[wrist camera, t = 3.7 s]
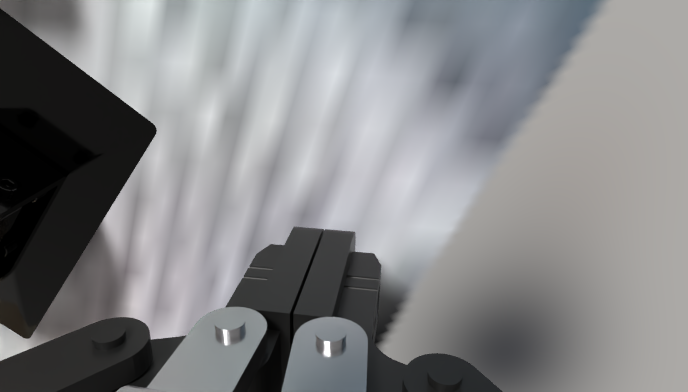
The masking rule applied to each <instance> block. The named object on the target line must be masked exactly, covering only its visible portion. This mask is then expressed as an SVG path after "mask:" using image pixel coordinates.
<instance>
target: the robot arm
mask: <svg viewBox="0 0 688 392" xmlns="http://www.w3.org/2000/svg"><path fill="white" fill-rule="evenodd" d="M380 275H381V264H380V263H379V261H378V259H377V258H376V256H375V254H373V253H362V252H355V232H350V231H339V230H327V229H325V231H324V229H315V228H303V227H294V228H293V229H292V231H291V233H290V235H289V237H288V239H287V241H286V243H285V245H274V244H271V245H269V246H268V247H266V248H265V249H263V250H262V251H260V252H259V253H257V254H256V256H255V258H254V259H253V261H252V263H251V264H250V268H248V270H247V271H246V273H245V275H244V278H242V280H241V282H240V283H239V285H238V287H237V288H236V290H235V292H234V294H233V295H232V297H231V299H230V300H229V302H228V304H227V306H226V307H225V308H221V309H217V310H214V311H212V312H210V313H208V314H206V315H204V316H203V317H202V318H201V319H200V320H199V321H198V322H197V323H196V324H195V325H194V327H193V328H192V329H191V331H190V332H189V333H188V335H186V336H180V337H172V338H163V339H154V340H151V338H150V332H149V329H148V327H147V325H146V324H145V323H143V322H142V321H140V320H137V319H134V318H127V317H119V318H110V319H106V320H102V321H99V322H96V323H93V324H91V325H88V326H86V327H83V328H81V329H79V330H76V331H74V332H71V333H69V334H66V335H64V336H61V337H59V338H56V339H54V340H51V341H49V342H46V343H44V344H41V345H39V346H37V347H34V348H32V349H29V350H27V351H24V352H22V353H19V354H17V355H14V356H12V357H9V358H7V359H4V360H2V361H0V392H502V391H501V390H500V389H499V388H498V387H497V386H495V385H494V384H493V383H492V382H491V381H490V380H489V379H487V378H486V377H485V376H484V375H483V374H482V373H481V372H479V371H478V370H477V369H476V368H475V367H474V366H472V365H471V364H470V363H468V362H466V361H464V360H463V359H460V358H458V357H455V356H451V355H447V354H438V353H437V354H427V355H422V356H419V357H417V358H415V359H414V360H412V361H411V362H410V363H409V364H408V365H405V364H403V363H400V362H397V361H395V360H392V359H391V358H389V357H387V356H386V355H385V354H383V353H382V352H381V351H380V350H379V349H378V348H377V347H376V345H375V344H374V343H375V335H376V328H377V320H378V307H379V291H380Z"/></svg>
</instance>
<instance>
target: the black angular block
mask: <svg viewBox="0 0 688 392" xmlns="http://www.w3.org/2000/svg"><path fill="white" fill-rule="evenodd" d="M156 131H157V130H156V127H155V125H154V124H153V123H151V122H150V121H149V120H147V119H146V118H145V117H143V116H142V115H141V114H139V113H138V112H137V111H135V110H134V109H133V108H131V107H130V106H129V105H127V104H126V103H125V102H124V101H122V100H121V99H120V98H118V97H117V96H116V95H114V94H113V93H112V92H110V91H109V90H108V89H106V88H105V87H104V86H102V85H101V84H100V83H98V82H97V81H96V80H94V79H93V78H92V77H90V76H89V75H88V74H86V73H85V72H84V71H82V70H81V69H80V68H78V67H77V66H76V65H75V64H73V63H72V62H71V61H69V60H68V59H67V58H65V57H64V56H63V55H61V54H60V53H59V52H57V51H56V50H55V49H53V48H52V47H51V46H49V45H48V44H47V43H45V42H44V41H43V40H41V39H40V38H39V37H37V36H36V35H35V34H33V33H32V32H31V31H29V30H28V29H27V28H26V27H24V26H23V25H22V24H20V23H19V22H18V21H16V20H15V19H14V18H12V17H11V16H10V15H8V14H7V13H6V12H4V11H3V10H2V9H0V323H1V324H3V325H4V326H6V327H8V328H9V329H11V330H12V331H14V332H15V333H17V334H19V335H20V336H22V337H23V338H30V337H31V335H32V334H33V332H34V331H35V329H36V327H37V326H38V324H39V322H40V321H41V319H42V318H43V316H44V314H45V313H46V311H47V310H48V308H49V306H50V305H51V303H52V301H53V300H54V298H55V297H56V295H57V293H58V292H59V290H60V288H61V287H62V285H63V284H64V282H65V280H66V279H67V277H68V276H69V274H70V272H71V271H72V269H73V267H74V266H75V264H76V263H77V261H78V259H79V258H80V256H81V254H82V253H83V251H84V250H85V248H86V246H87V245H88V243H89V241H90V240H91V238H92V237H93V235H94V233H95V232H96V230H97V229H98V227H99V225H100V224H101V222H102V220H103V219H104V217H105V216H106V214H107V212H108V211H109V209H110V207H111V206H112V204H113V203H114V201H115V199H116V198H117V196H118V195H119V193H120V191H121V190H122V188H123V186H124V185H125V183H126V182H127V180H128V178H129V177H130V175H131V173H132V172H133V170H134V169H135V167H136V165H137V164H138V162H139V161H140V159H141V157H142V156H143V154H144V152H145V151H146V149H147V148H148V146H149V144H150V143H151V141H152V139H153V138H154V136H155V135H156Z"/></svg>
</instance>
